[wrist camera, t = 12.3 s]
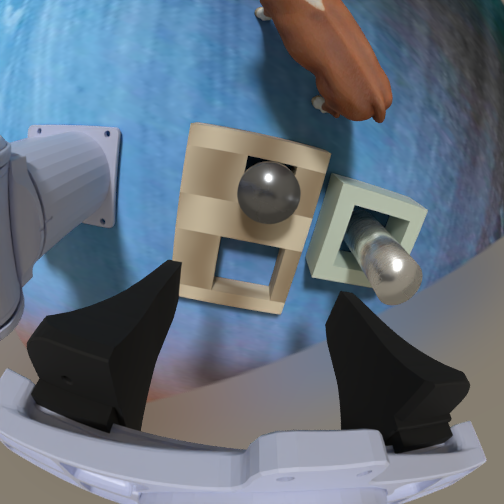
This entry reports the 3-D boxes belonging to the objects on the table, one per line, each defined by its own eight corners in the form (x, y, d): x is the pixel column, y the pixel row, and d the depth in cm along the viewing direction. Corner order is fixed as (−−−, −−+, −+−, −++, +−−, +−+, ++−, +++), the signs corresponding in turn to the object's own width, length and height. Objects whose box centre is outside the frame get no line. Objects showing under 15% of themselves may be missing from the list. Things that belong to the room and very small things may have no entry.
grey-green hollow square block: (305, 257, 23) (311, 277, 20) (331, 172, 20) (343, 182, 17) (379, 271, 24) (392, 291, 21) (409, 197, 21) (427, 210, 18)
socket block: (175, 280, 24) (169, 294, 22) (196, 122, 18) (190, 123, 17) (278, 299, 25) (280, 314, 23) (324, 149, 19) (331, 153, 17)
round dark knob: (235, 197, 21) (231, 217, 17) (246, 148, 19) (244, 157, 15) (284, 207, 21) (291, 229, 17) (297, 159, 19) (307, 171, 16)
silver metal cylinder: (334, 239, 22) (367, 301, 15) (348, 205, 21) (391, 255, 14) (366, 248, 23) (407, 308, 16) (380, 215, 21) (430, 266, 14)
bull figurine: (284, -39, 12) (299, -99, 5) (366, 112, 18) (426, 118, 10) (228, -22, 13) (215, -81, 6) (311, 132, 19) (347, 146, 11)
